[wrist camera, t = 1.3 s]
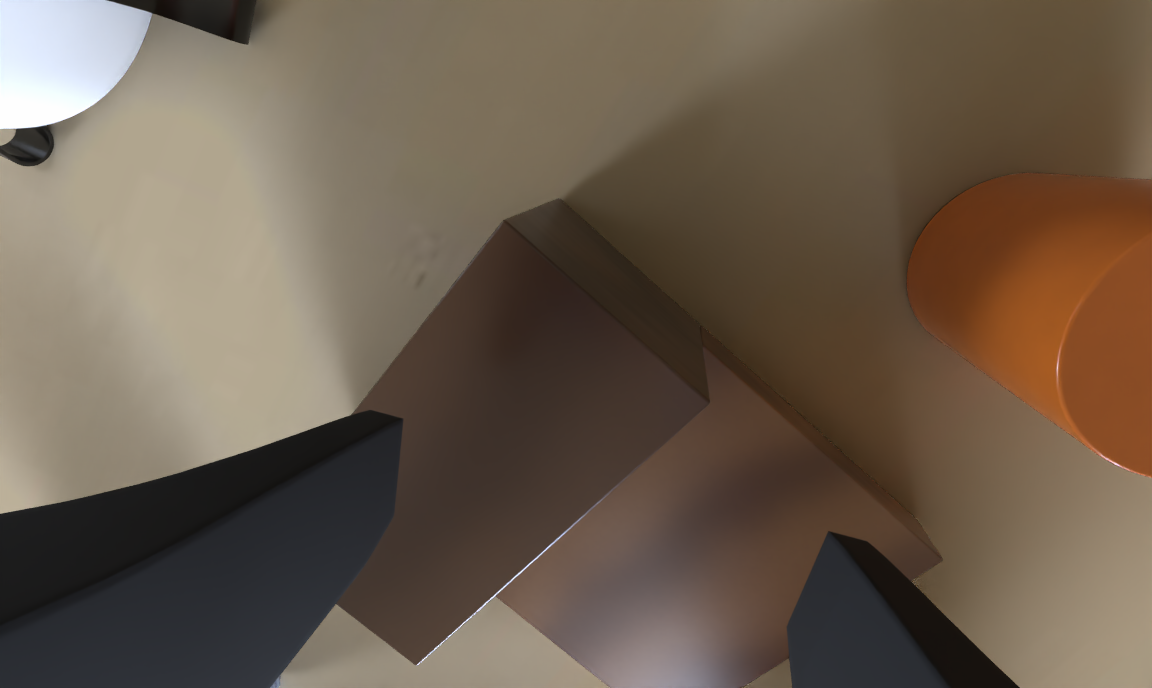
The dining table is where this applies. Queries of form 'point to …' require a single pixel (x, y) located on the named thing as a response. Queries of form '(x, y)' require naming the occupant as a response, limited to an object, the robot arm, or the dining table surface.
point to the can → (1050, 300)
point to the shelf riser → (603, 474)
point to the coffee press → (83, 56)
